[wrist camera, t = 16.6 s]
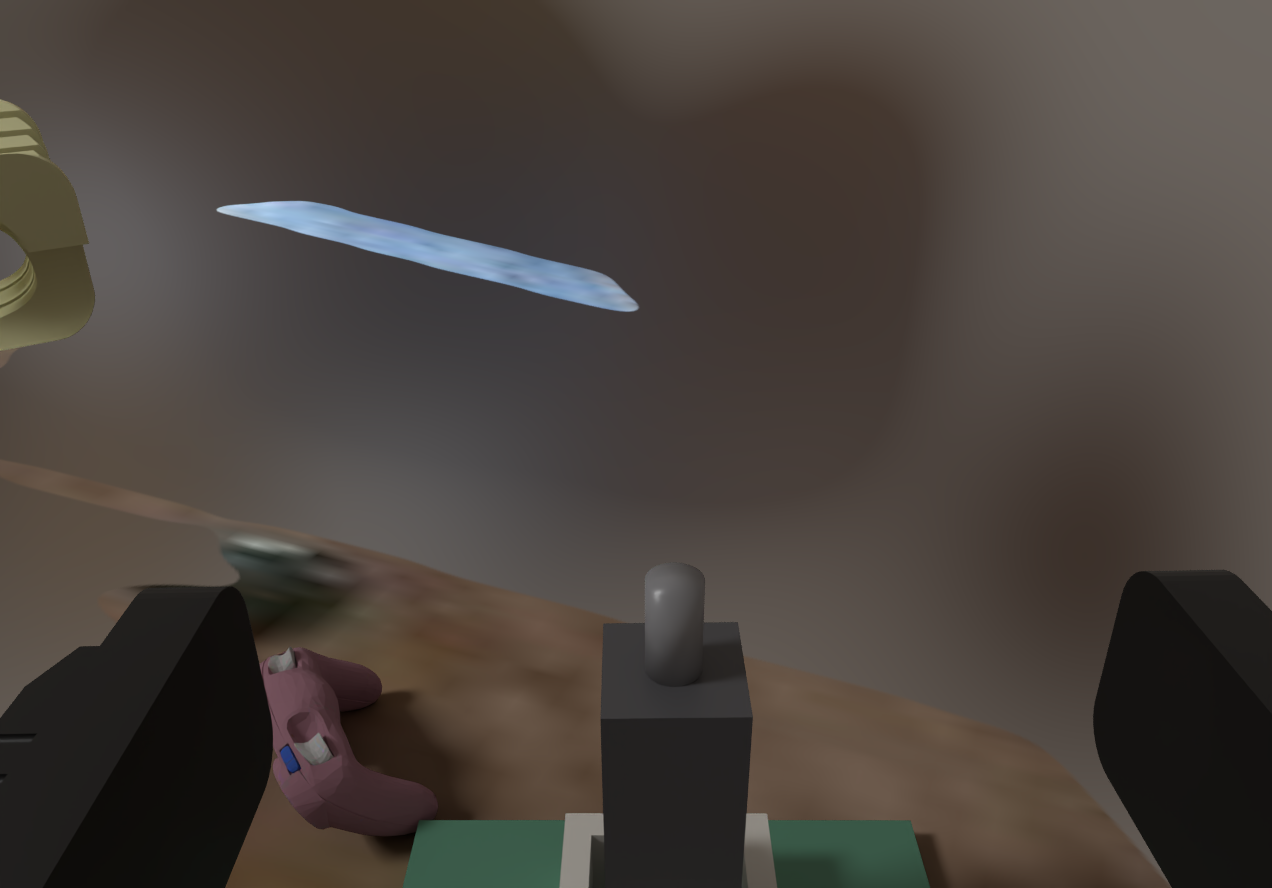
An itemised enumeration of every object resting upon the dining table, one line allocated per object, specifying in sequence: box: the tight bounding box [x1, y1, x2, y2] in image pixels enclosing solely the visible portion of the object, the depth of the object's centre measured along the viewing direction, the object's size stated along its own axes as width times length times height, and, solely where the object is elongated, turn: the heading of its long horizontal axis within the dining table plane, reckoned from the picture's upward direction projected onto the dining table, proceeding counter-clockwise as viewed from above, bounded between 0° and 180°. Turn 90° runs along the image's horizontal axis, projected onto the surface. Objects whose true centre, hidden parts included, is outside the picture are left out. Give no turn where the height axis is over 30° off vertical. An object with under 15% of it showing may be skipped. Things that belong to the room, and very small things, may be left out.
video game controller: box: [259, 647, 438, 836], centre depth 43 cm, size 10×5×7 cm, turn 29°
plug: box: [601, 563, 753, 888], centre depth 31 cm, size 4×5×17 cm
